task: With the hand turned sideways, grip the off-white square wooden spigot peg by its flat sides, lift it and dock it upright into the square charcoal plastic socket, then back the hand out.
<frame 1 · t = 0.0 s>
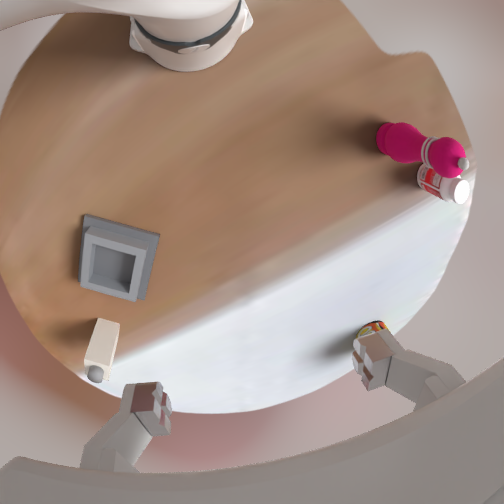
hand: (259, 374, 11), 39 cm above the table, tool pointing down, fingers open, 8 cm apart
socket dock: (115, 258, 49), on the table
pill bottle: (425, 174, 51), on the table
spigot peg: (108, 328, 56), on the table
pepper mill: (388, 138, 47), on the table
yellow tin can: (370, 333, 71), on the table
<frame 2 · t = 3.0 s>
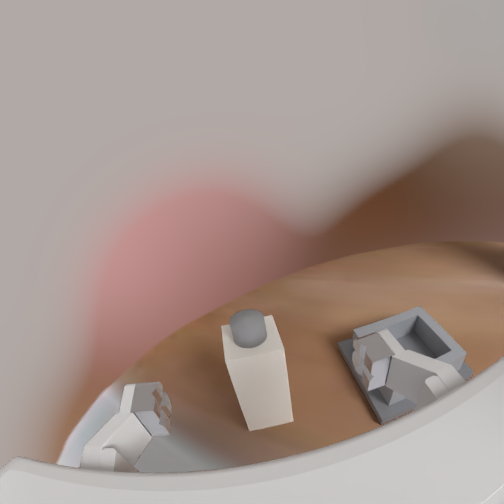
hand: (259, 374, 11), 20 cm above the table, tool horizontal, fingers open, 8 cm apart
socket dock: (404, 364, 32), on the table
spigot peg: (267, 410, 30), on the table
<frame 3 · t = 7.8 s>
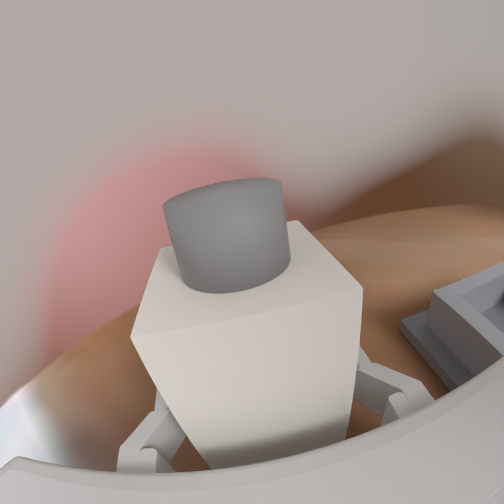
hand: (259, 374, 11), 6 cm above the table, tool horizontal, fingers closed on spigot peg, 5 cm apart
spigot peg: (278, 457, 13), on the table, touching gripper
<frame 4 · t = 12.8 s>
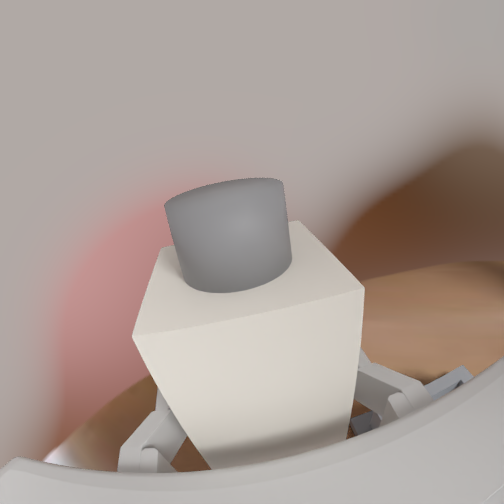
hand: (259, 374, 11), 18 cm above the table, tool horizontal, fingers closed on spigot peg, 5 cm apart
socket dock: (438, 446, 18), on the table
spigot peg: (278, 457, 13), point 11 cm above the table, touching gripper
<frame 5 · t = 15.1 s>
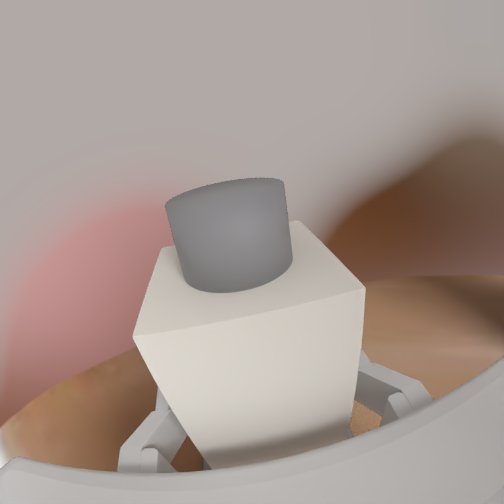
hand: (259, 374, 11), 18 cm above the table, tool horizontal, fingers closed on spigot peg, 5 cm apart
spigot peg: (278, 457, 13), point 11 cm above the table, touching gripper
when the fingers open (9 cm above the table, at t = 17.3 s): spigot peg drops 1 cm, resting on socket dock.
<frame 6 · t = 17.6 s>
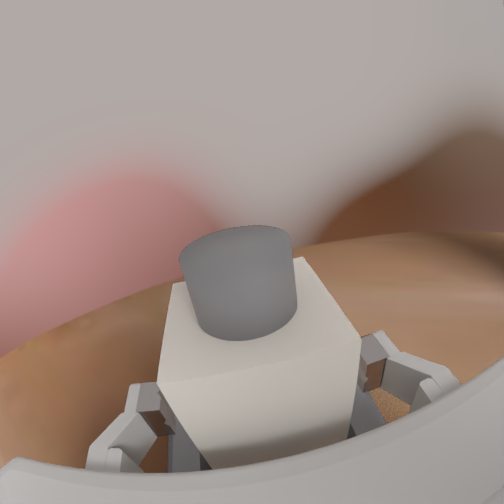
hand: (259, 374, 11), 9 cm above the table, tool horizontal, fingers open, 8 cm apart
socket dock: (282, 472, 14), on the table
spigot peg: (281, 466, 13), point 1 cm above the table, touching socket dock
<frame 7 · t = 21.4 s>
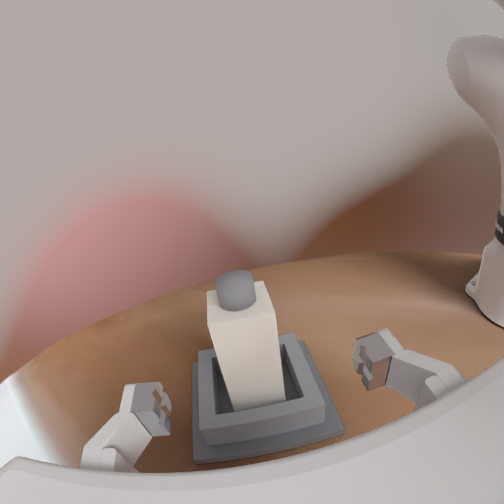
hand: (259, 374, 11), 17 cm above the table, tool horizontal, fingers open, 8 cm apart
socket dock: (258, 400, 28), on the table
spigot peg: (257, 394, 28), point 1 cm above the table, touching socket dock
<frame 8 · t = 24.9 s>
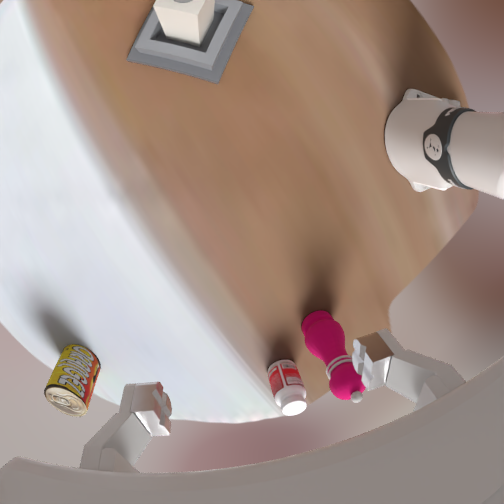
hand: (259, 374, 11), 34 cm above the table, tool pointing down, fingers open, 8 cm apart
socket dock: (190, 30, 32), on the table
pill bottle: (281, 368, 58), on the table
spigot peg: (190, 28, 31), point 1 cm above the table, touching socket dock
pepper mill: (316, 322, 54), on the table
yellow tin can: (81, 360, 50), on the table
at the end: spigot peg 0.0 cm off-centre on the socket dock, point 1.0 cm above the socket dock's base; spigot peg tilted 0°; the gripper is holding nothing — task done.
